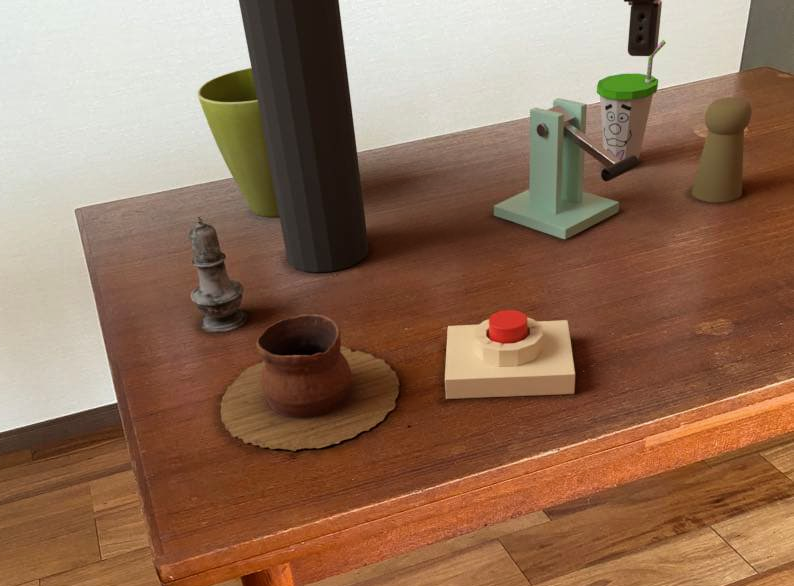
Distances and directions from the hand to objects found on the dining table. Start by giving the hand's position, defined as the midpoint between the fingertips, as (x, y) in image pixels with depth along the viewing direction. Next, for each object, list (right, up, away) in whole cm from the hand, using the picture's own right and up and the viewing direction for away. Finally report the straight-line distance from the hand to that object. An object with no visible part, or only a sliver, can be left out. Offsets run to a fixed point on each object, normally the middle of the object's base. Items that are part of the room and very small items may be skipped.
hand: (642, 53), depth 75 cm
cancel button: (-10, -22, +10) cm, 26 cm away
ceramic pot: (-29, -27, +12) cm, 42 cm away
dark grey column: (-29, -6, +35) cm, 46 cm away
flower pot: (-37, +5, +48) cm, 61 cm away
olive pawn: (+20, +3, +37) cm, 43 cm away
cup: (+11, +11, +48) cm, 50 cm away
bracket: (0, 0, +37) cm, 37 cm away
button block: (-10, -24, +12) cm, 29 cm away
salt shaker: (-40, -17, +25) cm, 50 cm away
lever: (+1, +4, +29) cm, 30 cm away
